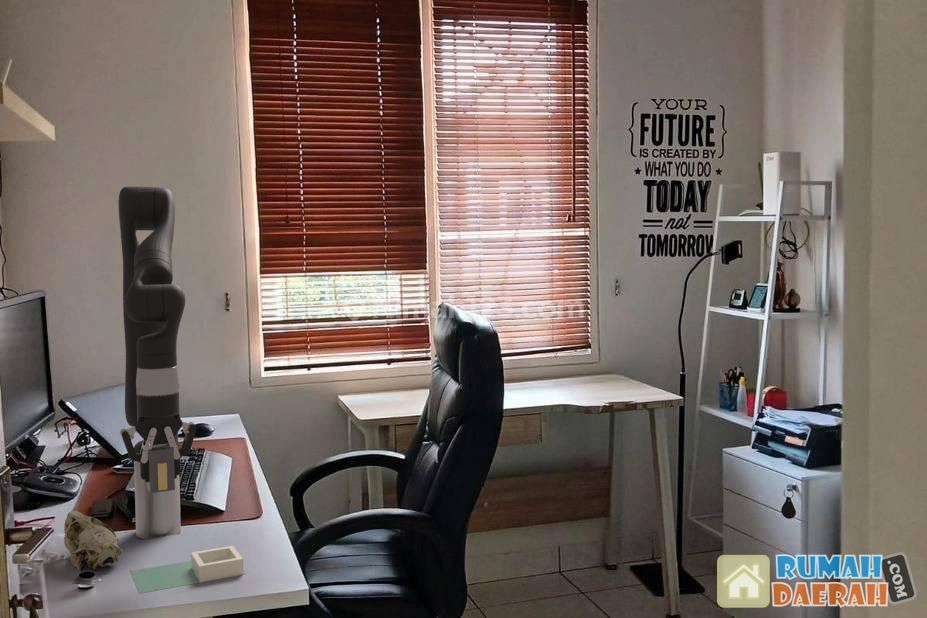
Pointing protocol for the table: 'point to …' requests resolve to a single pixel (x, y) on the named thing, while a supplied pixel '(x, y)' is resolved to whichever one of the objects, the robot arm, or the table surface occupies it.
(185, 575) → the board
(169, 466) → the plug
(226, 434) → the table surface
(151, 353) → the robot arm
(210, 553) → the frame
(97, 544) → the skull
